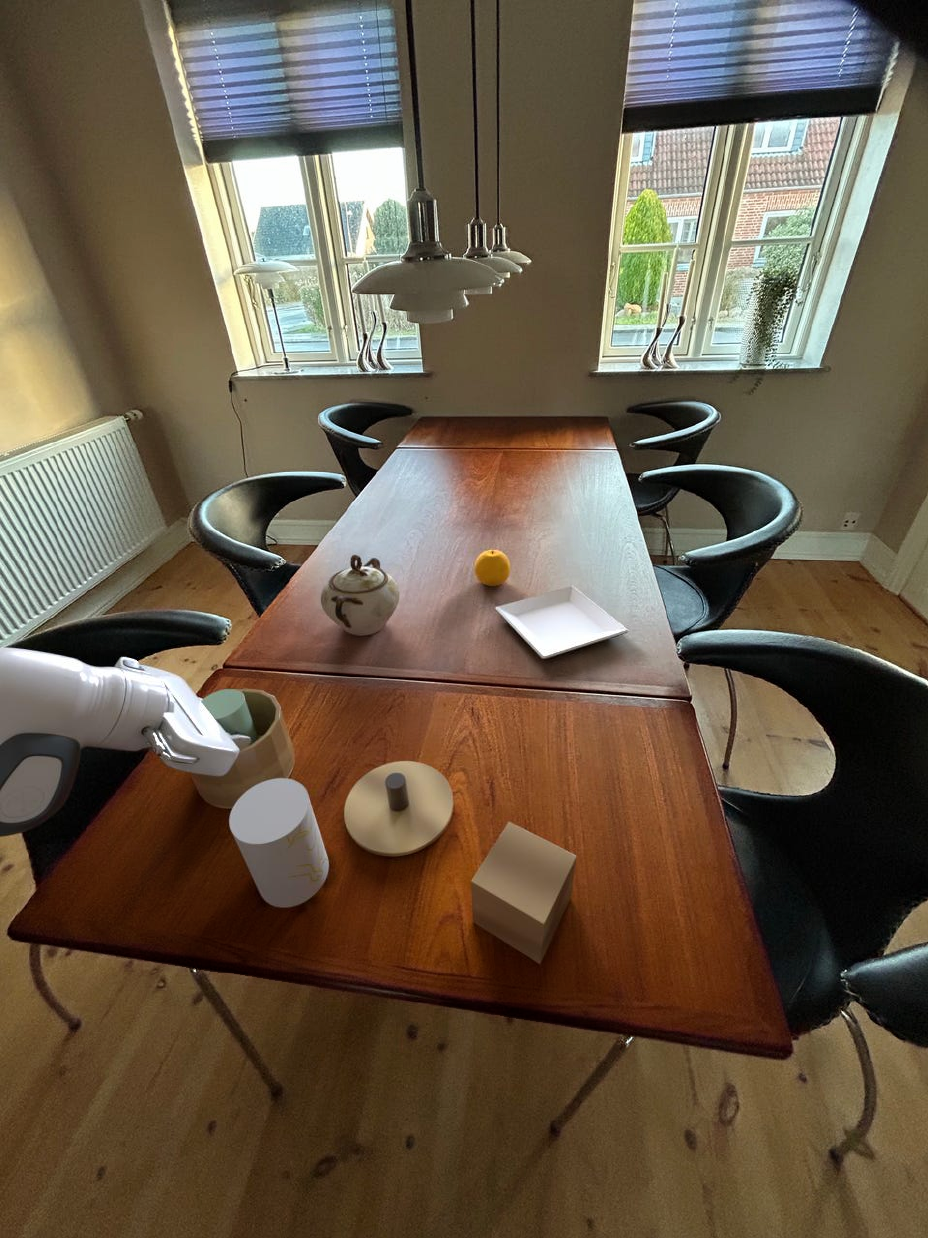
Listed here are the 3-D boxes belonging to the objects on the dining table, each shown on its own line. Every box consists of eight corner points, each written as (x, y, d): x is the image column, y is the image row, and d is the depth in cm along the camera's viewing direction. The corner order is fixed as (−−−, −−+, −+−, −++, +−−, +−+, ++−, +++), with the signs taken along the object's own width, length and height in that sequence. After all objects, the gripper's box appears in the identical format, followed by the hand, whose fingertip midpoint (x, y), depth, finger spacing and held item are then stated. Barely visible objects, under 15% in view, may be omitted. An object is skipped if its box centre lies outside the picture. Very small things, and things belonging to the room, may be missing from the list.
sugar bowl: (350, 595, 116) (339, 532, 107) (415, 601, 113) (409, 537, 104) (308, 648, 100) (291, 579, 92) (383, 657, 97) (372, 587, 88)
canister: (239, 784, 72) (215, 725, 66) (212, 767, 74) (187, 709, 68) (272, 755, 76) (253, 698, 70) (246, 740, 78) (225, 683, 72)
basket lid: (410, 880, 61) (405, 852, 58) (322, 825, 68) (313, 797, 65) (474, 793, 71) (473, 765, 68) (391, 752, 78) (387, 724, 75)
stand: (540, 964, 54) (544, 924, 49) (472, 922, 57) (470, 881, 53) (571, 897, 59) (577, 856, 55) (507, 862, 63) (508, 821, 58)
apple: (471, 589, 116) (470, 558, 112) (478, 571, 123) (478, 542, 118) (507, 592, 115) (507, 561, 110) (512, 574, 121) (513, 544, 117)
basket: (239, 825, 68) (218, 776, 63) (178, 782, 75) (154, 734, 69) (313, 757, 78) (300, 709, 72) (254, 724, 84) (237, 678, 78)
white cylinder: (319, 907, 59) (297, 843, 53) (248, 907, 59) (216, 844, 53) (335, 841, 66) (317, 777, 59) (271, 842, 66) (245, 778, 60)
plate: (542, 667, 93) (543, 658, 92) (494, 615, 107) (494, 606, 106) (628, 639, 99) (630, 629, 98) (572, 593, 113) (573, 584, 112)
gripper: (175, 733, 55) (283, 748, 66) (118, 650, 67) (216, 674, 78) (145, 786, 55) (258, 792, 66) (94, 693, 67) (195, 711, 78)
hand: (235, 727), depth 72 cm, fingers closed on canister, 6 cm apart
